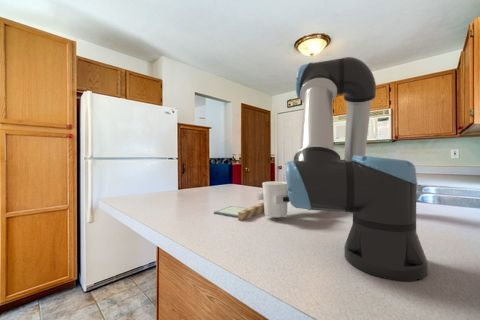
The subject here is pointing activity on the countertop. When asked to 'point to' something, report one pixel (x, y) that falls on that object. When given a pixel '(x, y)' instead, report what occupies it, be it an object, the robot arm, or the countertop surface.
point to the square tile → (230, 211)
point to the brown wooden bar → (250, 212)
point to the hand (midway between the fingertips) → (266, 198)
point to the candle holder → (269, 201)
